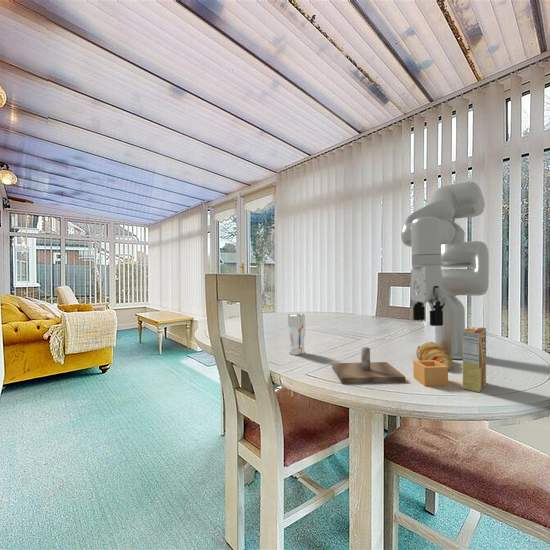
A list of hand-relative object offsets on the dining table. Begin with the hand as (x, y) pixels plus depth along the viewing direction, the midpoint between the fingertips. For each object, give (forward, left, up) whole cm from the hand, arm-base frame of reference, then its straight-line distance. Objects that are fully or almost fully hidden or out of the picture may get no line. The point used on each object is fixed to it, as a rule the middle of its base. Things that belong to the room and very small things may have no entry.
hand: (427, 322), depth 84 cm
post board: (+15, -7, -17) cm, 24 cm away
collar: (-1, 0, -17) cm, 17 cm away
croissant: (-11, -18, -17) cm, 27 cm away
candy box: (-11, +4, -17) cm, 20 cm away
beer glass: (+34, -33, -17) cm, 51 cm away
